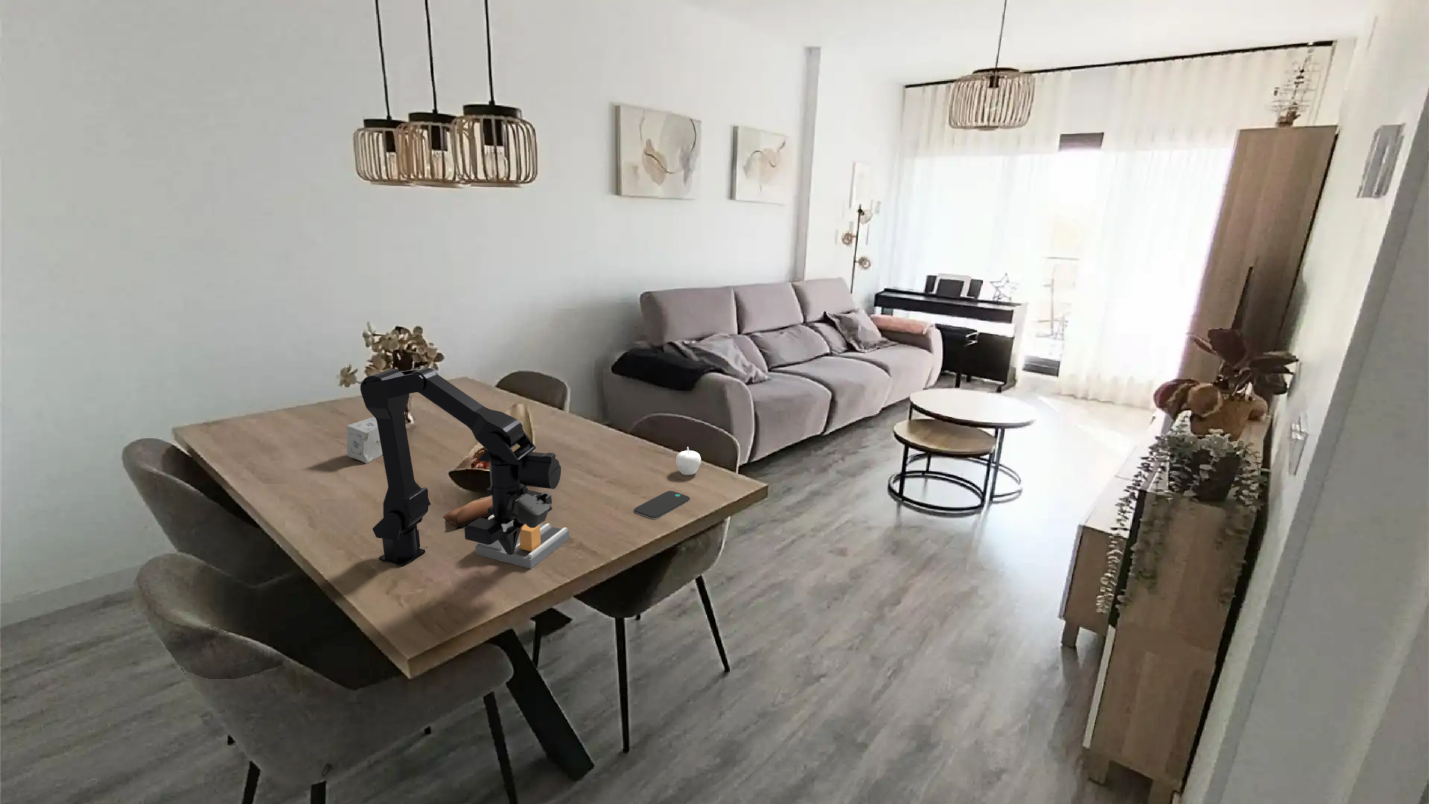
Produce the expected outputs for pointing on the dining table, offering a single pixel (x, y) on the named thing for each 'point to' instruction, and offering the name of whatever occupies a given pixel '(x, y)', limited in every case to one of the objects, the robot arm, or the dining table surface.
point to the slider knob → (530, 538)
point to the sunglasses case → (470, 512)
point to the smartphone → (661, 505)
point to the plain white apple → (688, 462)
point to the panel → (520, 557)
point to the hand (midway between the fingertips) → (510, 553)
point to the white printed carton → (364, 440)
